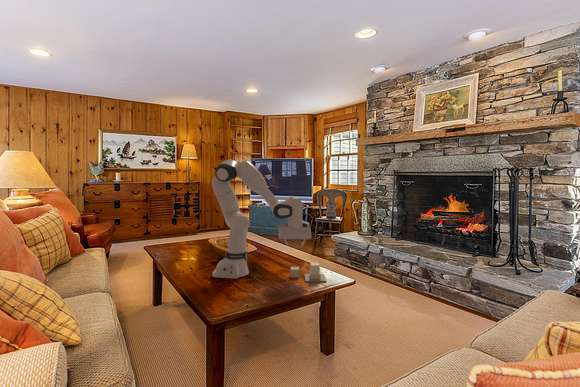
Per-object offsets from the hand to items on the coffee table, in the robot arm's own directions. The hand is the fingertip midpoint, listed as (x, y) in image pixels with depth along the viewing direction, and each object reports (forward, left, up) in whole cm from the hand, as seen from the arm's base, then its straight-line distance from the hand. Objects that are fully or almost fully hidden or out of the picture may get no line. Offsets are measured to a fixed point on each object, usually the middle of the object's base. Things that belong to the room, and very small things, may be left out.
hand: (294, 246), depth 188 cm
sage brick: (0, 0, -19) cm, 19 cm away
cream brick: (+12, -5, -15) cm, 20 cm away
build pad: (+12, -5, -19) cm, 23 cm away
